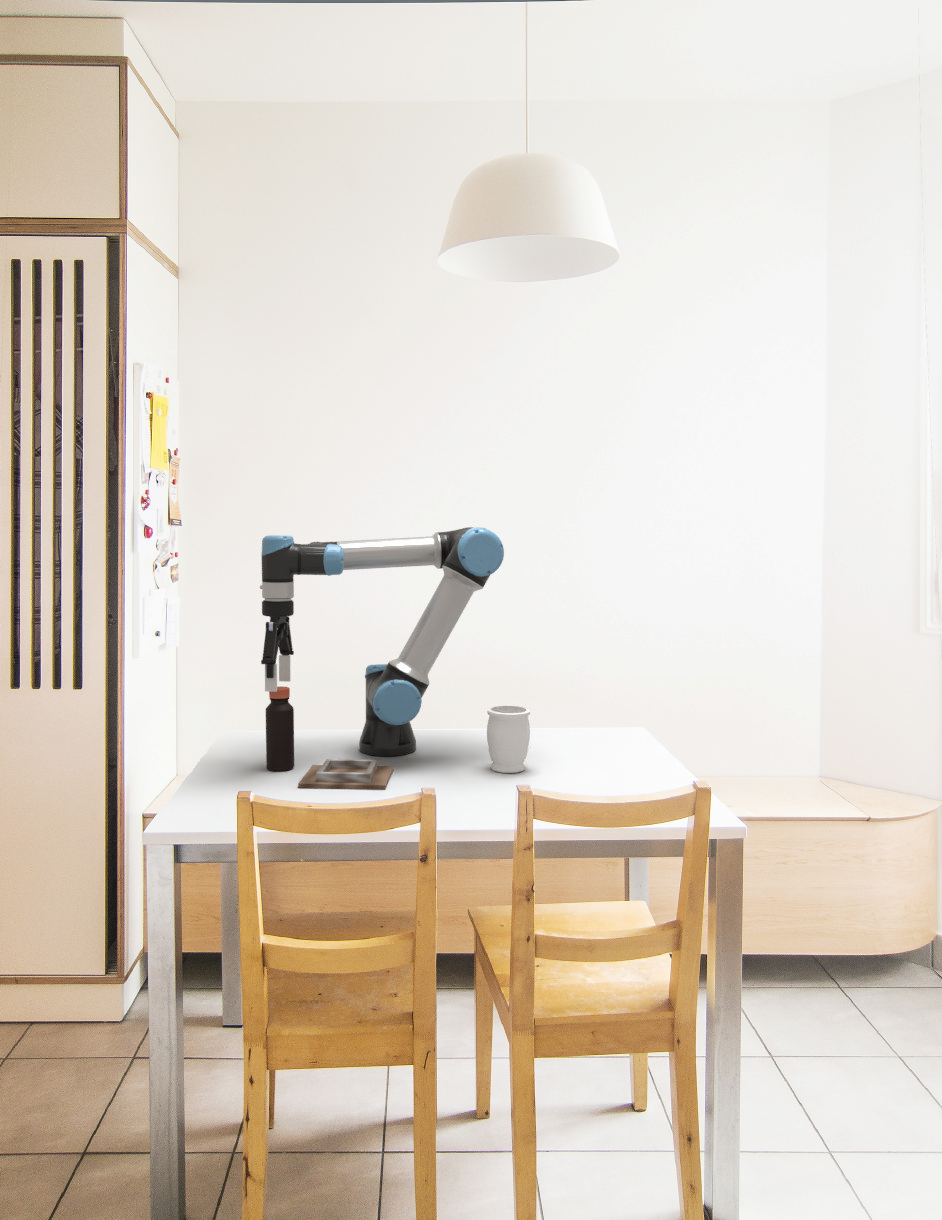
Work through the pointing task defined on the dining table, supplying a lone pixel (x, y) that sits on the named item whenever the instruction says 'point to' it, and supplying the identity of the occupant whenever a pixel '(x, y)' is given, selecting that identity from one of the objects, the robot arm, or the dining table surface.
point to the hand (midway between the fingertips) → (278, 686)
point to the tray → (347, 775)
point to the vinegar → (280, 731)
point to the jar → (508, 737)
